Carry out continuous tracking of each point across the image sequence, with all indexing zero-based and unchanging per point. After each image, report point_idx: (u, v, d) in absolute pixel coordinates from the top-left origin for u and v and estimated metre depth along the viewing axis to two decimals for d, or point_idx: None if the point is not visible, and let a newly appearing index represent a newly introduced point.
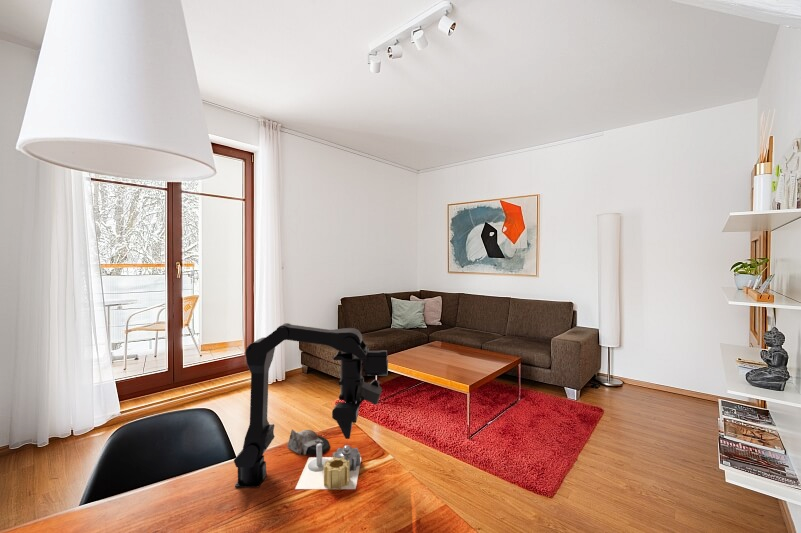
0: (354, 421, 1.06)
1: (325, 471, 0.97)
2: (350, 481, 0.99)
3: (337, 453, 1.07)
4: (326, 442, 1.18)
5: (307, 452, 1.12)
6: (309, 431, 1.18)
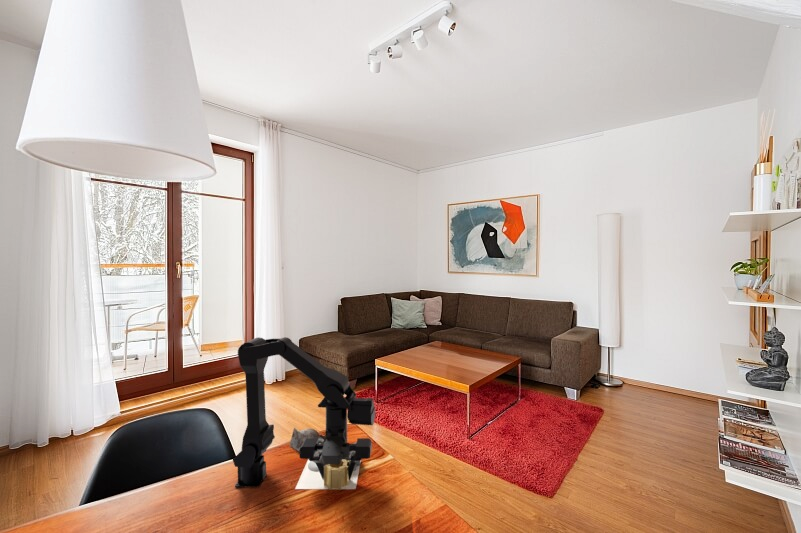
0: None
1: (325, 471, 0.97)
2: (350, 481, 0.99)
3: None
4: None
5: None
6: (311, 430, 1.18)
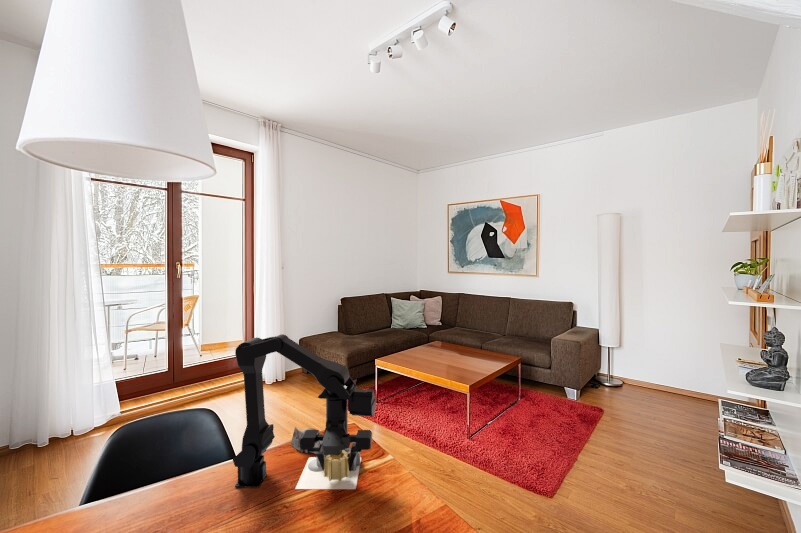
0: (349, 468, 0.99)
1: (325, 462, 0.97)
2: (350, 481, 0.99)
3: None
4: None
5: (308, 450, 1.13)
6: None
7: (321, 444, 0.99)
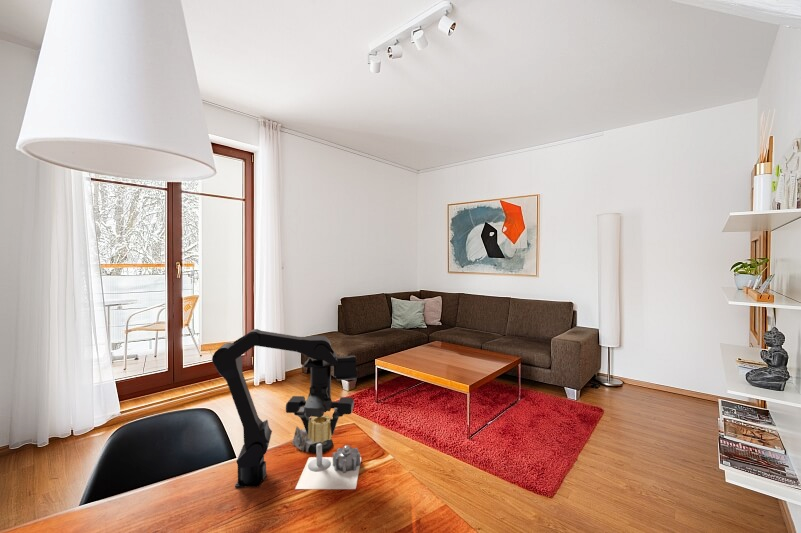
0: None
1: (309, 426, 1.04)
2: (350, 481, 0.99)
3: (337, 453, 1.07)
4: (330, 441, 1.18)
5: (309, 450, 1.14)
6: None
7: None
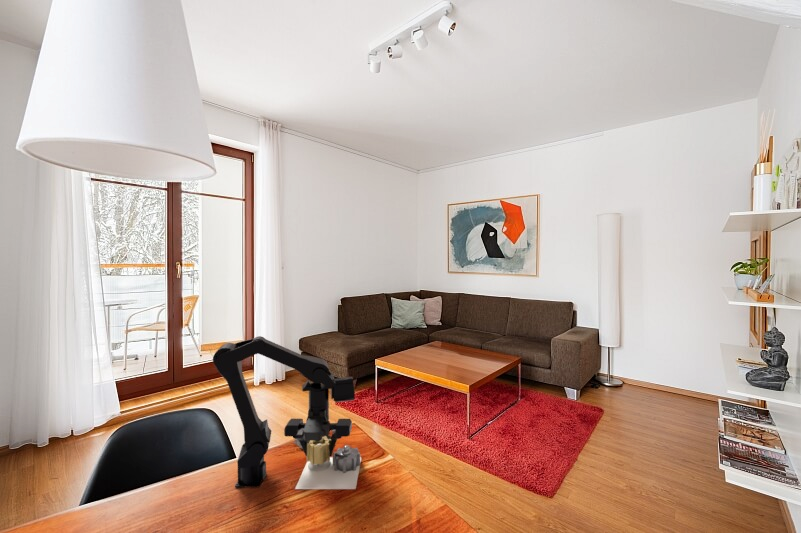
0: (330, 454, 1.07)
1: (308, 448, 1.05)
2: (350, 481, 0.99)
3: (337, 453, 1.07)
4: None
5: None
6: None
7: None
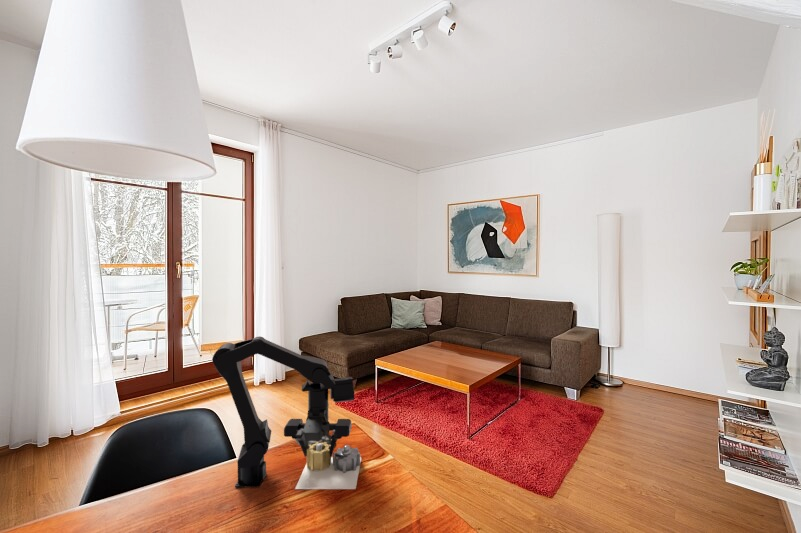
0: (330, 454, 1.07)
1: (308, 454, 1.05)
2: (350, 481, 0.99)
3: (337, 453, 1.07)
4: None
5: None
6: None
7: (303, 432, 1.07)
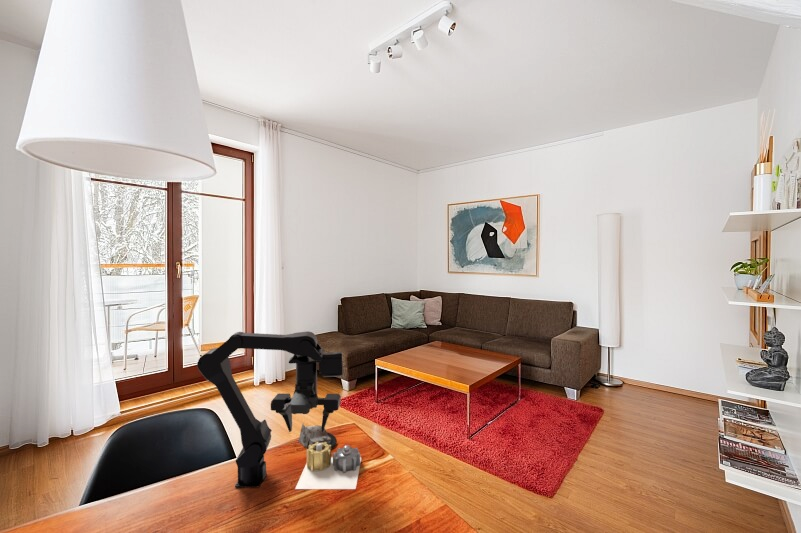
0: (322, 430, 1.03)
1: (308, 454, 1.05)
2: (350, 481, 0.99)
3: (337, 453, 1.07)
4: (334, 440, 1.19)
5: None
6: (319, 427, 1.21)
7: (288, 406, 1.04)
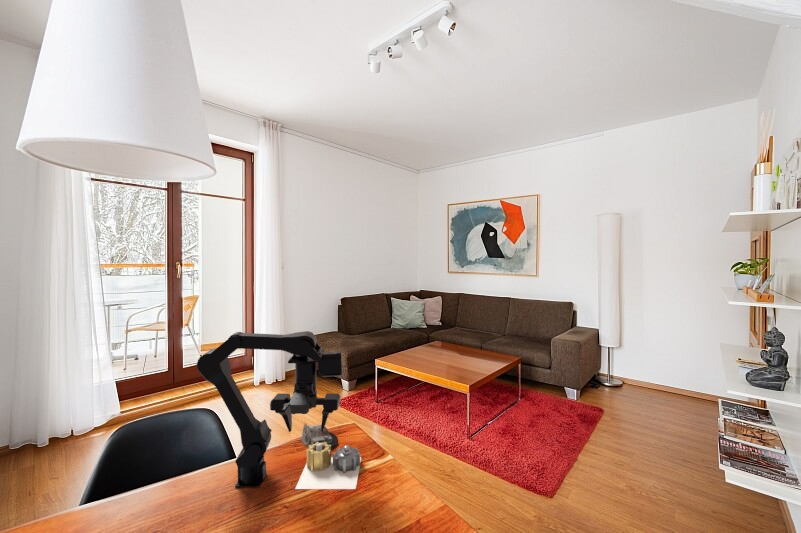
0: None
1: (308, 454, 1.05)
2: (350, 481, 0.99)
3: (337, 453, 1.07)
4: (335, 440, 1.19)
5: None
6: None
7: (287, 406, 1.03)
